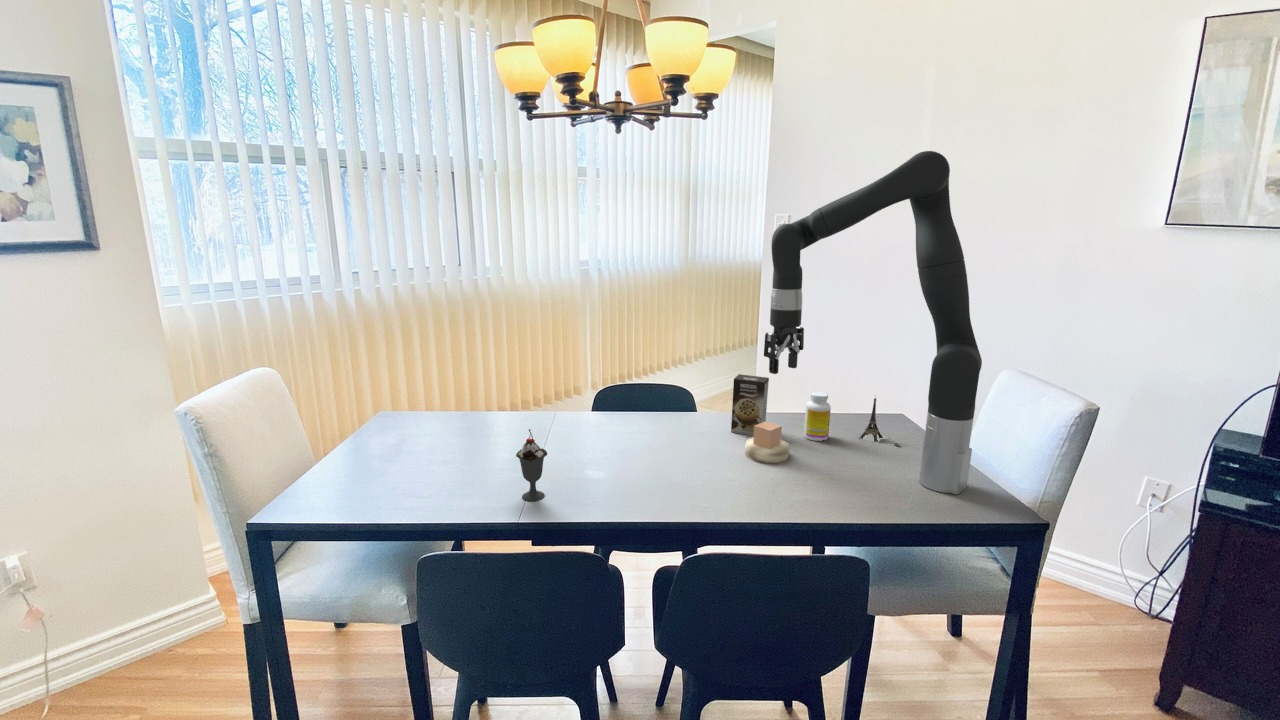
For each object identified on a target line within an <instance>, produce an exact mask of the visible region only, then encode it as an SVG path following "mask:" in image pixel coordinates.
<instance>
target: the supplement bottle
mask: <svg viewBox="0 0 1280 720" xmlns="http://www.w3.org/2000/svg"><path fill="white" fill-rule="evenodd" d="M809 395H810V396H809V398H810V400H809V401H807V402H806V404H805V413H804V426H803V428H804V429H803V436H804V437H805V438H806V439H807V440H811V441H813V442H814V441H816V442H822V441H823V440H824V441H826V440H827V439H828V438H829V433H830V421H831V420H830V419H831V409H832V407H831V405H830V403H828V402H827V401H828V399H829V395H828V393H826V392H823V391H812V392H810V394H809ZM824 441H823V442H824Z"/></svg>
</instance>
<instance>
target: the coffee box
mask: <svg viewBox="0 0 1280 720" xmlns="http://www.w3.org/2000/svg"><path fill="white" fill-rule="evenodd" d="M769 381H770V377H765V376H758V375H750V374H748V375H747V374H738V375H736V376H735V377H734V378H733V385H732V387H733V388H732V389H733V390H732V391H733V392H732V406H731V407H732V408H731V427H730V432H731V433H734V434H735V433H736V434H743V435H748V436H754V426H755V425H757V424H760V423H763V422H765V421H766V422H767V409H768V408H767V407H768V397H769V396H768V394H769V393H768V392H769Z"/></svg>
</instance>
